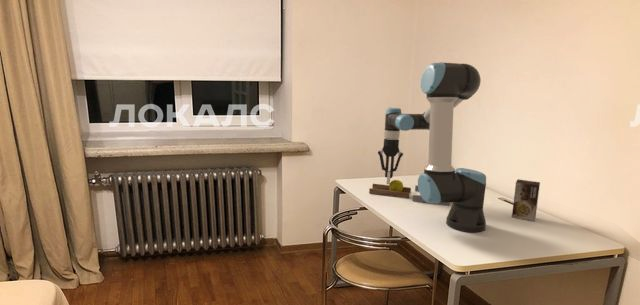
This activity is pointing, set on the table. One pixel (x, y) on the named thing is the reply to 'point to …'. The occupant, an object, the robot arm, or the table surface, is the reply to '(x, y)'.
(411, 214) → the table surface
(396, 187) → the tennis ball
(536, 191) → the coffee box
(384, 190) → the chute
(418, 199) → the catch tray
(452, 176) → the robot arm
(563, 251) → the table surface
